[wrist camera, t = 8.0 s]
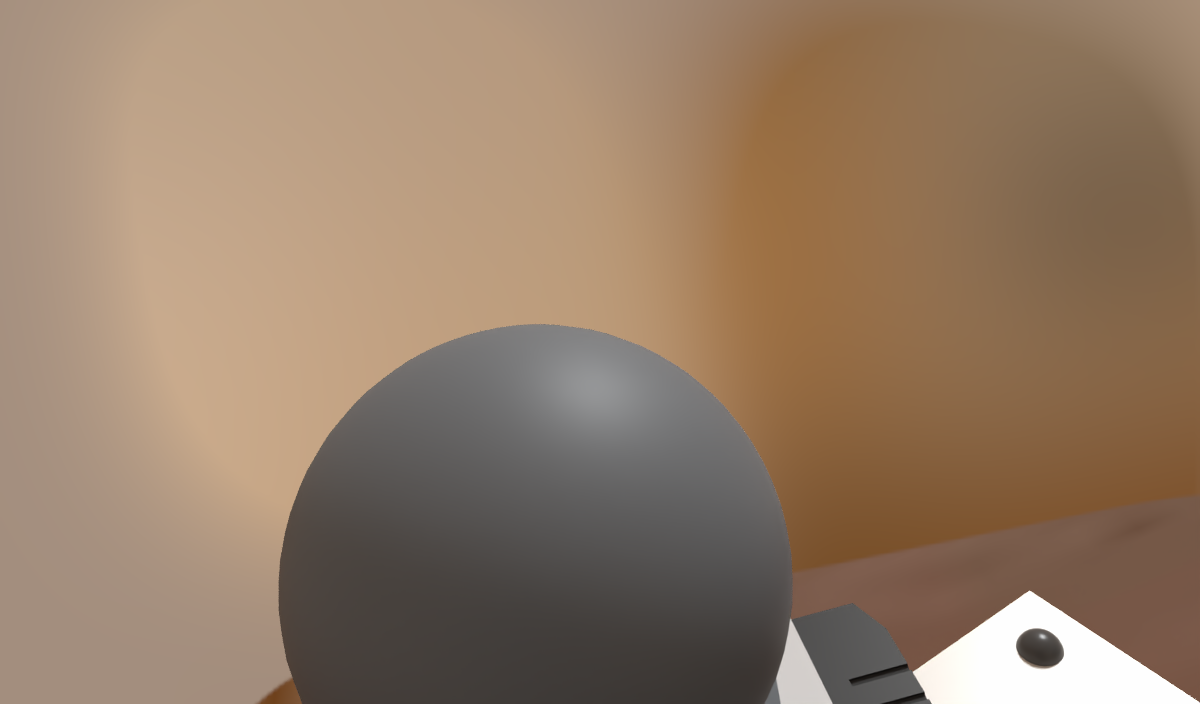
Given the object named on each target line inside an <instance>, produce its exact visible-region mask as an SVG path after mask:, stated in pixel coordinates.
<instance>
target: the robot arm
mask: <svg viewBox="0 0 1200 704" xmlns="http://www.w3.org/2000/svg"><path fill="white" fill-rule="evenodd" d="M776 680H777V686H778V691H779V696H780V703H781V704H932V703H931V701H930V700H929V699H927V698H926V696H925V692H924V690H923V688H922V687H921V685H920V683H919V682H918V680H917V679H916V677H915V675H914V674H913V672H912V670H909V668H908V665H907V662H906V660H905V659H904V657H903V656H902V654H901V652H900V651H899V649H898V647H897V646H896V644H895V642H894V641H893V639H892V637H891V636H890V634H889V633H888V631H887V629H886V628H884V627H883V626H882V625H881V624H879V623H878V622H877V621H875V620H874V619H873V618H871V617H870V616H869V615H867V614H866V613H865V612H864V611H862V610H861V609H860V608H858V607H857V606H856V605H854V604H853V603H852V604H848V605H844V606H840V607H837V608H833V609H829V610H826V611H822V612H818V613H814V614H811V615H807V616H803V617H800V618H796V619H792V620H791V618H790V624H789V631H788V636H787V641H786V646H785V651H784V654H783V658H782V661H781V664H780V667H779V671H778V674H777V677H776Z"/></svg>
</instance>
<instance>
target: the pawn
mask: <svg viewBox="0 0 1200 704" xmlns="http://www.w3.org/2000/svg"><path fill="white" fill-rule="evenodd" d="M791 609H792V561H791V551H790V545H789V539H788V533H787V528H786V524H785V520H784V516H783V512H782V507H781V504H780V502H779V499H778V496H777V493H776V491H775V488H774V486H773V483H772V480H771V478H770V476H769V474H768V471H767V469H766V467H765V465H764V463H763V461H762V459H761V458H760V456H759V454H758V452H757V451H756V449H755V447H754V445H753V444H752V442H751V440H750V439H749V437H748V436H747V435H746V433H745V432H744V430H743V429H742V428H741V426H740V425H739V424H738V422H737V421H736V420H735V419H734V417H733V416H732V415H731V414H730V412H729V411H728V410H727V409H726V408H725V406H724V405H723V404H722V403H721V402H720V401H719V400H718V399H717V398H716V397H715V396H714V395H713V394H712V393H711V392H709V391H708V390H707V389H706V388H705V387H704V386H702V385H701V384H700V383H699V382H698V381H697V380H696V379H694V378H693V377H692V376H690V375H689V374H688V373H687V372H685V371H684V370H682V369H681V368H679V367H678V366H676V365H675V364H673V363H671V362H670V361H668V360H666V359H665V358H663V357H661V356H660V355H658V354H656V353H654V352H652V351H650V350H648V349H646V348H644V347H642V346H640V345H637V344H634V343H632V342H629V341H626V340H623V339H620V338H617V337H615V336H612V335H609V334H607V333H602V332H598V331H594V330H590V329H583V328H576V327H568V326H560V325H546V324H541V325H540V324H532V325H518V326H517V325H516V326H508V327H501V328H495V329H491V330H485V331H481V332H477V333H473V334H470V335H466V336H463V337H461V338H457V339H454V340H451V341H449V342H446V343H444V344H441V345H439V346H436V347H434V348H432V349H430V350H428V351H426V352H424V353H422V354H420V355H418V356H416V357H414V358H413V359H411V360H409V361H407V362H406V363H405V364H403V365H402V366H400V367H399V368H397V369H396V370H394V371H393V372H392V373H390V374H389V375H387V376H386V377H385V378H383V379H382V380H381V381H380V382H378V383H377V384H376V385H375V386H373V387H372V388H371V389H370V390H368V391H367V392H366V393H365V394H364V395H363V396H362V397H361V398H360V399H359V400H358V401H357V402H356V403H355V404H354V405H353V406H352V407H351V409H350V410H349V411H348V412H347V413H346V414H345V416H344V417H343V418H342V419H341V420H340V422H339V423H338V424H337V425H336V426H335V428H334V429H333V430H332V431H331V432H330V434H329V435H328V437H327V438H326V440H325V442H324V443H323V445H322V446H321V448H320V450H319V451H318V453H317V455H316V456H315V458H314V460H313V462H312V463H311V465H310V467H309V468H308V470H307V472H306V474H305V477H304V479H303V481H302V483H301V486H300V488H299V491H298V494H297V496H296V499H295V501H294V504H293V507H292V510H291V513H290V516H289V520H288V524H287V528H286V531H285V536H284V542H283V548H282V553H281V559H280V572H279V616H280V624H281V631H282V637H283V643H284V648H285V654H286V659H287V663H288V666H289V668H290V671H291V674H292V677H293V680H294V683H295V686H296V688H297V691H298V693H299V696H300V699H301V701H302V704H781V703H780V696H779V691H778V686H777V680H776V677H777V674H778V671H779V667H780V664H781V661H782V658H783V654H784V651H785V646H786V641H787V636H788V631H789V624H790V617H791Z"/></svg>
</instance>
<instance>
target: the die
mask: <svg viewBox="0 0 1200 704" xmlns="http://www.w3.org/2000/svg"><path fill="white" fill-rule="evenodd" d="M913 674H914V675H915V677H916V679H917V680H918V682H919V683H920V685H921V687H922V688H923V690H924V692H925V696H926V698H927V699H929V700H930V701H931V703H932V704H1200V703H1199V702H1198V701H1196V700H1195V699H1193V698H1192V697H1190V696H1189V695H1187V694H1186V693H1184V692H1183V691H1181V690H1180V689H1178V688H1177V687H1175V686H1174V685H1172V684H1170V683H1169V682H1167V681H1166V680H1164V679H1163V678H1161V677H1160V676H1158V675H1157V674H1155V673H1154V672H1152V671H1151V670H1149V669H1148V668H1146V667H1145V666H1143V665H1142V664H1140V663H1139V662H1137V661H1136V660H1134V659H1133V658H1131V657H1130V656H1128V655H1126V654H1125V653H1123V652H1122V651H1120V650H1119V649H1117V648H1116V647H1114V646H1113V645H1111V644H1110V643H1108V642H1107V641H1105V640H1104V639H1102V638H1101V637H1099V636H1098V635H1096V634H1095V633H1093V632H1092V631H1090V630H1089V629H1087V628H1085V627H1084V626H1082V625H1081V624H1079V623H1078V622H1076V621H1075V620H1073V619H1072V618H1070V617H1069V616H1067V615H1066V614H1064V613H1063V612H1061V611H1060V610H1058V609H1057V608H1055V607H1054V606H1052V605H1051V604H1049V603H1048V602H1046V601H1045V600H1043V599H1041V598H1040V597H1038V596H1037V595H1035V594H1034V593H1032V592H1031V591H1028V592H1027V593H1026V594H1024V595H1023V596H1021V597H1020V598H1018V599H1017V600H1016V601H1014V602H1013V603H1011V604H1010V605H1008V606H1007V607H1006V608H1004V609H1003V610H1001V611H1000V612H998V613H997V614H995V615H994V616H993V617H991V618H990V619H988V620H987V621H985V622H984V623H983V624H981V625H980V626H978V627H977V628H975V629H974V630H973V631H971V632H970V633H968V634H967V635H965V636H964V637H963V638H961V639H960V640H958V641H957V642H955V643H954V644H952V645H951V646H950V647H948V648H947V649H945V650H944V651H942V652H941V653H940V654H938V655H937V656H935V657H934V658H932V659H931V660H930V661H928V662H927V663H925V664H924V665H922V666H921V667H920V668H918V669H917V670H915V671H914V672H913Z"/></svg>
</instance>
